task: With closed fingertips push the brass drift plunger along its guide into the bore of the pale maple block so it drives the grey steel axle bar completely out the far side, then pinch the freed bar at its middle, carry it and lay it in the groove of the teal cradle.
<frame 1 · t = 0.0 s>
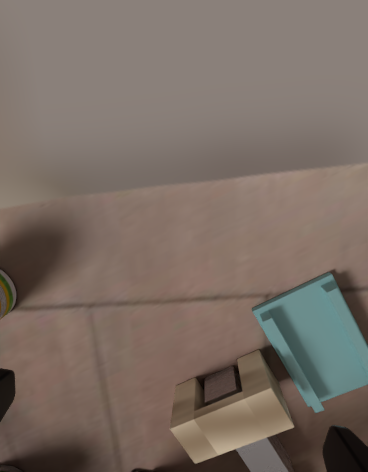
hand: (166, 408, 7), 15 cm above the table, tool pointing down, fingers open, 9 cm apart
cradle: (316, 341, 22), on the table
bore block: (226, 384, 24), on the table
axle: (247, 415, 25), on the table
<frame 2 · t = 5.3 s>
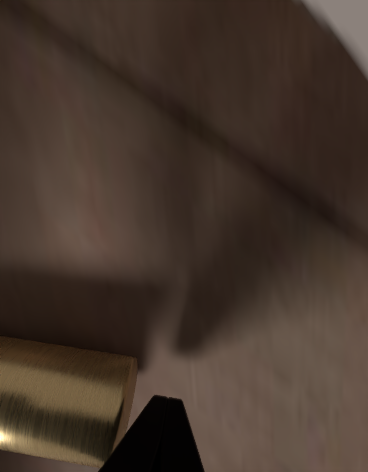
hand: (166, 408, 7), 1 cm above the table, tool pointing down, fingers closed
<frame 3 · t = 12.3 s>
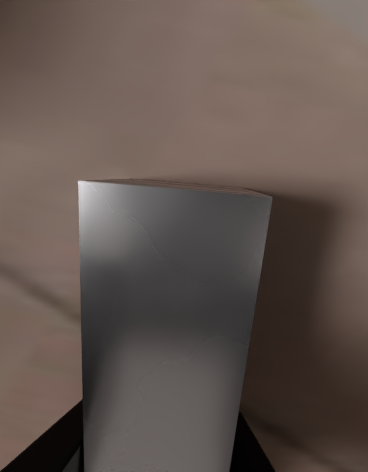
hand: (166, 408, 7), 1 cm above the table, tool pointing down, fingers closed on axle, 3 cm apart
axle: (171, 372, 8), on the table, touching gripper
when the fingers open (2 cm above the table, at t = 16.1 s): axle stays where it is, resting on cradle.
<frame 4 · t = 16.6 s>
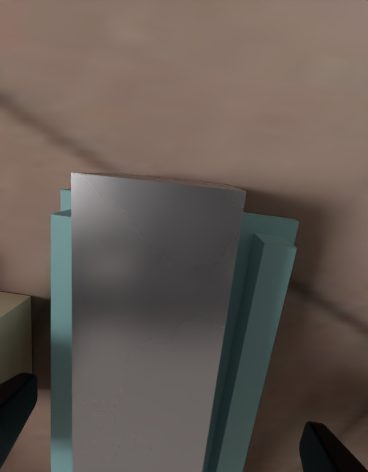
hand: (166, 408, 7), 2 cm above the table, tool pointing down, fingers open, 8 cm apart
cradle: (161, 354, 9), on the table
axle: (158, 358, 9), resting on cradle
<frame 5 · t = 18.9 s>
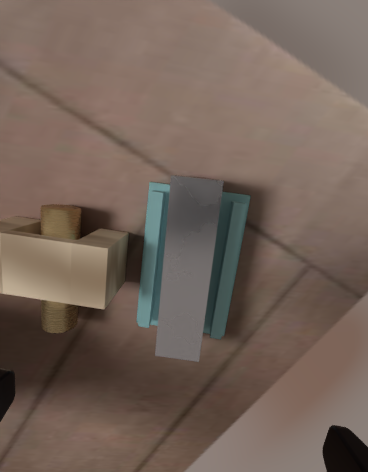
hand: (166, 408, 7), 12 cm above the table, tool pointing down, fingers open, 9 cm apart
cradle: (189, 261, 19), on the table
bore block: (71, 249, 20), on the table
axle: (188, 260, 19), resting on cradle
drift: (60, 268, 19), point 1 cm above the table, slide at 15.0 cm
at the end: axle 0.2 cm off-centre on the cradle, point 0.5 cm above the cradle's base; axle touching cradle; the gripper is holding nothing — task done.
